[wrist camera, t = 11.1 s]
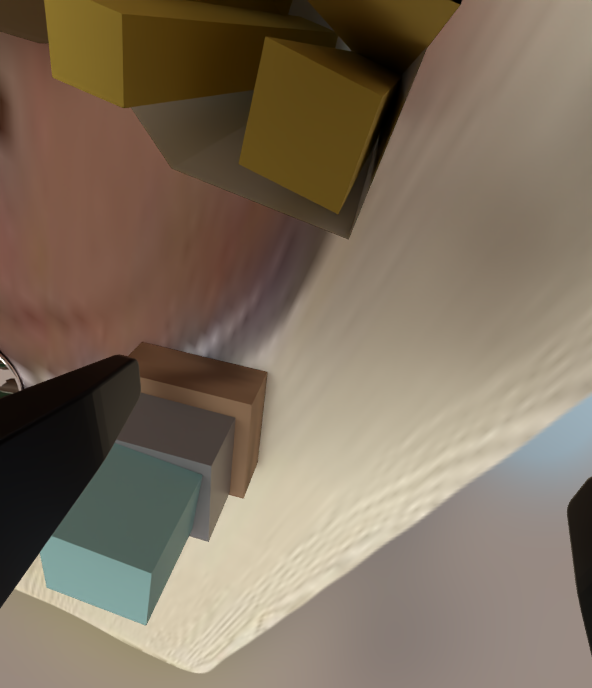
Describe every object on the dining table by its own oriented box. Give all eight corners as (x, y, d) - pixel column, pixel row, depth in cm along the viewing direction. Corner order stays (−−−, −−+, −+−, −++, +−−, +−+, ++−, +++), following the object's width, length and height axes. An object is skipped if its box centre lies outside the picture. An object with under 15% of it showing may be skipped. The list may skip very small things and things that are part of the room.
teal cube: (202, 475, 21) (151, 573, 17) (191, 529, 24) (146, 625, 19) (108, 440, 21) (35, 529, 17) (109, 499, 24) (46, 587, 20)
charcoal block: (235, 417, 23) (211, 466, 20) (229, 491, 27) (208, 541, 24) (126, 388, 24) (87, 431, 21) (135, 464, 27) (103, 510, 25)
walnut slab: (269, 367, 25) (251, 404, 22) (259, 457, 30) (243, 498, 27) (146, 338, 26) (113, 370, 23) (154, 429, 31) (127, 466, 28)
